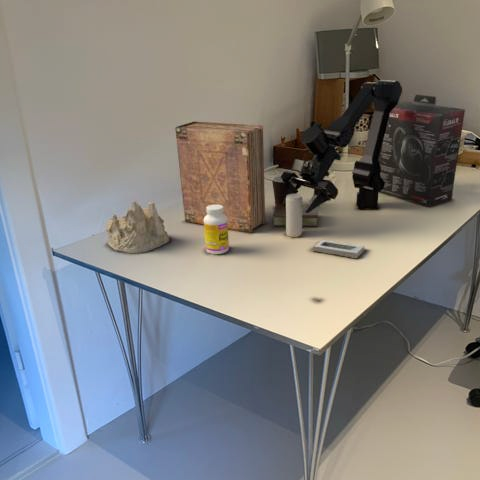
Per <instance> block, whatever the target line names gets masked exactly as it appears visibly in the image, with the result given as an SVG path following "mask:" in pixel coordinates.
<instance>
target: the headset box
mask: <svg viewBox="0 0 480 480" xmlns="http://www.w3.org/2000/svg"><path fill="white" fill-rule="evenodd" d="M423 100H426V101H423ZM465 112H466V109H464V108H458V107H451V106H443V105H437V96H434V95H433V96H432V95H424V94H418V93H417V94H415V95H414V98H413V100H412V101H406V100H405V101H398V104H397V105H396V106H395V107H394V109H393V110H392V111H391V112H390V115H389V119H388V123H387V127H386V131H385V135H384V139H383V143H382V147H381V151H380V155H379V159H378V160H379V163H380V167H381V172H380V176H381V178H382V179H383V181H384V182H385V185H384V189H383V190H382V191H379V193H382V194H386V195H389V196H392V197H395V198H399V199H402V200H405V201H409V202H412V203H415V204H418V205H421V206H425V207H428V208H431V207H433V206H437V205H439V204H442V203H445V202H448V201H451V200H452V198H453V192H454V185H455V178H456V172H457V164H458V159H459V153H460V145H461V139H462V133H463V132H462V131H463V126H464V119H465V114H466V113H465Z"/></svg>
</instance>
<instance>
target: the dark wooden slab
mask: <svg viewBox="0 0 480 480" xmlns="http://www.w3.org/2000/svg"><path fill="white" fill-rule="evenodd" d="M308 204H309V203H302V228H317V227H318V226H319V225H318V224H319V213H320V205H319V206H318V207H316V208H315V209H313V210H312V211H310V212H309V213H306V212H305V210H306V208H307V206H308ZM272 217H273V226H274V227H277V228H280V227H281V228H283V227H284V228H286V206H285V207H284V206H283V205H282V204H276V206H274V209H273V212H272Z"/></svg>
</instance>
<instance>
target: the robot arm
mask: <svg viewBox="0 0 480 480" xmlns="http://www.w3.org/2000/svg"><path fill="white" fill-rule="evenodd" d="M402 93H403V86H402V85H401V82H400V81H399V80H385V79H380V80H378V81H377V82H370V81H366V82H363V83H362V85H361V87H360V90H359V92H358V93H357V95H356V96H355V97H354V98H353V99H352V101H351V102H350V104H349V105H348V107H347V108H346V109H345V111H344V112H343V113H342V115H341V116H340V117H338V118H336V119H334V120H332V121H331V123H329V125H328V126H327V127H325V129H323V127H322V125H321V123H313V125H312V126H310V127H308V128H306V129H305V130H304V131H303V132H302V133H301V135H300V140H301V143H302V144H303V145H304V147H305V148H306V149H307V150H308V151H309V153H310V154H311V155H313V157H312V159H308V160H307V161H306V160H302V159H297V158H295V159H294V161H293V164H292V166H291V171H289V170H285V171H283V172H282V174H281V175H282V176H281V175H280V176H281V177H280V178H281V179H282V180H283V182H284V184H285V193H284V199H283V204H282V205H283V206H284V207H285V206H286V196H287V195H288V194H299V190H298V189H300V188H301V187H305V188H309V189H313V195H312V197H311V198H310V200H309V202H308V203H307V204H308V206H307V208H306V210H305V212H306V213H309V212H310V211H312V210H313V209H315V208H316V207H318V206H319V207H320V205H323V204H324V203H326V202H330V201H331V200H336V198H337V197H338V196H339V189H338V188H337V186H336V185H335V184H334V183H333V182H332V180H328V179H325V177H329V176H330V172H329V170H330V169H331V168H332V165H333V164H334V162H335V161H341V159H342V156H341V153H340V152H341V151H340V150H338V149H336V148H335V147H337V148H346V147H348V145H350V142H351V141H352V139H353V138H354V135H355V127H356V125H357V124H358V122H359V121H360V120H361V119H362V117H363V115H364V114H365V113H366V111H367V110H368V109H369V107H370V106H371V104H372V105H373V110H374V111H373V114H372V118H371V122H370V126H369V130H368V135H367V138H366V142H365V146H364V151H363V155H362V157H361V158H360V159H359V160H355V162H354V165H353V170H352V172H351V174H352V181H353V182H352V183H353V187H354V188H355V189H358V191H356V200H355V203H356V204H355V205H356V207H357V209H358V210H378V209H379V204H378V203H379V193H380V192H379V191H382V190H383V189H384V185H385V182H384V181H383V179H382V178H381V176H380V172H381V167H380V163H379V160H378V159H379V155H380V151H381V147H382V143H383V139H384V135H385V131H386V127H387V123H388V119H389V115H390V112H391V111H392V110H393V109H394V107H395V106H396V105H397V104H398V103H399V102H400V99H401V96H402ZM293 171H295V172H293ZM296 172H298V175H299V176H300V177H301V178H300V177H299V176H298V175H297V174H296Z"/></svg>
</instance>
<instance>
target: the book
mask: <svg viewBox="0 0 480 480" xmlns="http://www.w3.org/2000/svg"><path fill="white" fill-rule="evenodd" d="M174 130H175V135H176V136H175V138H176V139H175V140H176V147H177V157H178V166H179V176H180V177H179V178H180V186H181V195H182V203H183V204H182V205H183V213H184V215H183V216H184V221H185V222H186V223H190V224H196V225H203V226H204V217H205V216H206V215H207V212H206V207H207V206H209V205H215V204H217V205H222V206H223V214H224V215H226V217H227V221H228V230H231V231H237V232H243V233H248V234H252V233H253V230H254V229H256V228H257V227H258V226H260V225H265V224H266V198H265V197H266V196H265V195H266V194H265V193H266V191H265V190H266V189H265V158H264V157H265V154H264V153H265V152H264V151H265V150H264V149H265V148H264V126H263V125H261V124H244V123H227V122H209V121H191V122H187V123H184V124H181V125H178V126H176V127H175V128H174Z"/></svg>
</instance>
